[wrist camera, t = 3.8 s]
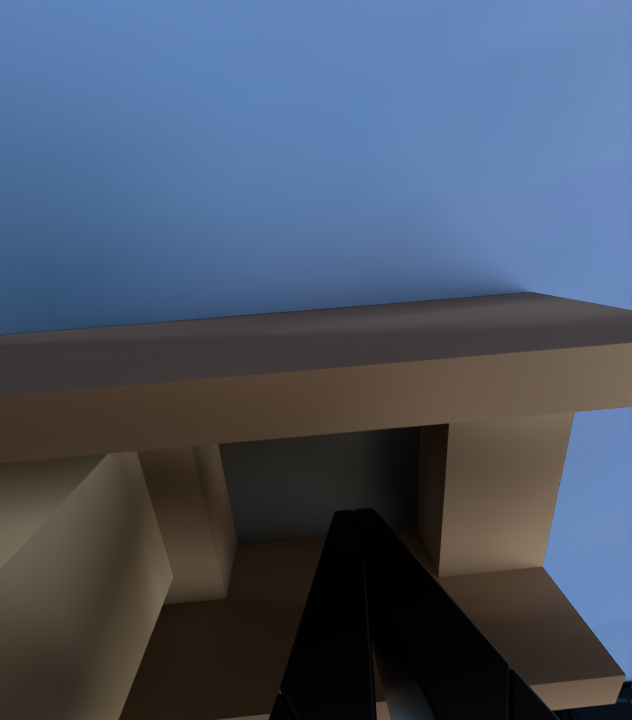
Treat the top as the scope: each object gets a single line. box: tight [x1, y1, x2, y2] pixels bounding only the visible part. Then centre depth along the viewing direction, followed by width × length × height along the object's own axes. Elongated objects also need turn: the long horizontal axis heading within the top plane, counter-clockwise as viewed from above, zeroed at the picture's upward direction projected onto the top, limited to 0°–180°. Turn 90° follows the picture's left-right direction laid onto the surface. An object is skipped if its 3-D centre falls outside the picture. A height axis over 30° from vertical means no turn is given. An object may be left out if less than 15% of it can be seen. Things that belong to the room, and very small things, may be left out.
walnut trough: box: [0, 292, 632, 720], centre depth 8 cm, size 8×24×4 cm, turn 94°
